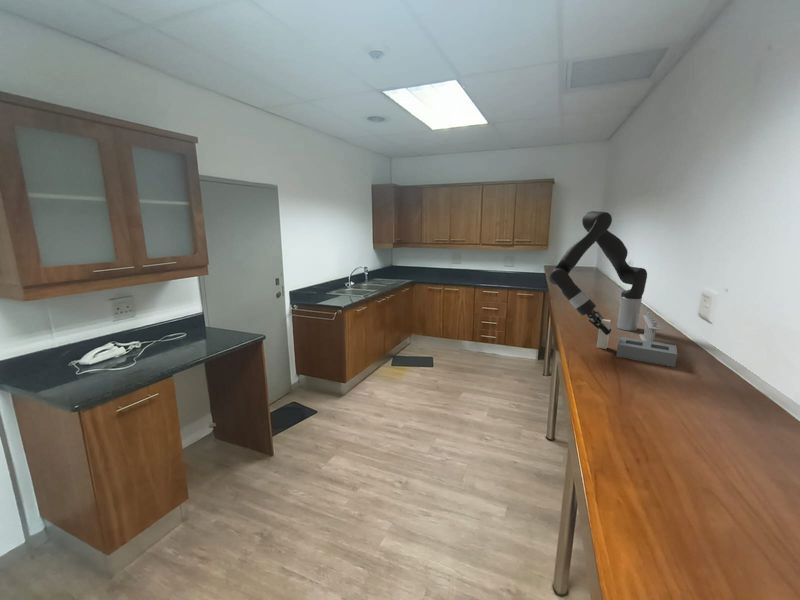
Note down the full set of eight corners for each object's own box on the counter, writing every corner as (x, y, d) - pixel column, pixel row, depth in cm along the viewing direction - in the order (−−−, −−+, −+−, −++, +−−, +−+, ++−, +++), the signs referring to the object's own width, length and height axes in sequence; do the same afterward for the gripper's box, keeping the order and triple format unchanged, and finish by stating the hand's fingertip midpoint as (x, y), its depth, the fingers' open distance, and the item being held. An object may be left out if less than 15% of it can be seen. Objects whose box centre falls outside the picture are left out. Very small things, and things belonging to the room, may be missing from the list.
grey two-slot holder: (619, 348, 158) (620, 336, 157) (674, 357, 147) (676, 345, 146) (616, 356, 149) (617, 344, 148) (674, 367, 137) (677, 354, 136)
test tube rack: (657, 353, 153) (662, 324, 150) (645, 351, 155) (649, 323, 152) (649, 336, 174) (653, 311, 171) (639, 335, 176) (643, 310, 173)
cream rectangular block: (597, 345, 162) (600, 318, 159) (607, 347, 160) (610, 320, 157) (596, 347, 160) (599, 320, 157) (606, 349, 158) (609, 321, 155)
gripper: (586, 301, 154) (614, 332, 149) (591, 295, 165) (618, 324, 160) (572, 311, 158) (599, 341, 154) (578, 305, 169) (603, 333, 165)
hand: (608, 332), depth 157 cm, fingers closed on cream rectangular block, 3 cm apart
